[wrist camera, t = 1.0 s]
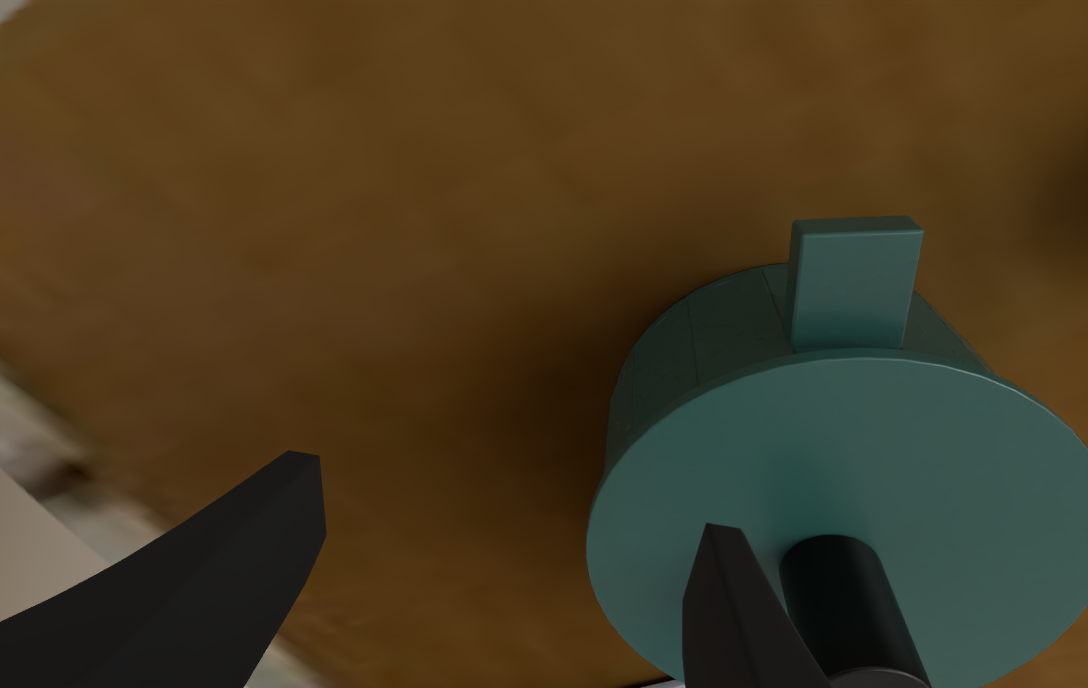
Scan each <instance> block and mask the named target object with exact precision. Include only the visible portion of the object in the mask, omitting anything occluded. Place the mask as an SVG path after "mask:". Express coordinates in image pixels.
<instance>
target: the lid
mask: <svg viewBox="0 0 1088 688" xmlns="http://www.w3.org/2000/svg"><path fill="white" fill-rule="evenodd" d="M706 523H712V524H718V525H723V526H729V527H735V528H740V529H741V530H742V531H743V533H744V534H745V536H746V538H747V540H748V542H749V544H750V546H751V548H752V550H753V552H754V554H755V556H756V558H757V560H758V561H759V563H760V565H761V567H762V569H763V571H764V573H765V575H766V577H767V579H768V580H769V582H770V584H771V586H772V588H773V590H774V591H775V593H776V595H777V597H778V599H779V600H780V602H781V604H782V606H783V608H784V609H785V611H786V613H787V614H788V616H789V618H790V620H791V621H792V623H793V625H794V626H795V628H796V630H797V631H798V633H799V635H800V636H801V638H802V640H803V641H804V643H805V645H806V646H807V648H808V650H809V651H810V653H811V654H812V656H813V657H814V659H815V661H816V662H817V664H818V665H819V667H820V668H821V670H822V671H823V673H824V675H825V676H826V678H827V679H828V681H829V682H830V684H831V685H832V687H833V688H980V687H982V686H984V685H986V684H988V683H990V682H992V681H994V680H997V679H999V678H1001V677H1003V676H1005V675H1007V674H1008V673H1010V672H1012V671H1013V670H1015V669H1017V668H1018V667H1020V666H1022V665H1023V664H1025V663H1027V662H1028V661H1030V660H1031V659H1033V658H1034V657H1035V656H1037V655H1038V654H1039V653H1040V652H1042V651H1043V650H1044V649H1046V648H1047V647H1048V646H1050V645H1051V644H1052V643H1053V642H1054V641H1055V640H1057V639H1058V638H1059V637H1060V636H1061V635H1062V634H1063V633H1064V632H1065V631H1066V630H1067V629H1068V628H1069V627H1070V626H1071V625H1072V624H1073V623H1074V622H1075V620H1076V619H1077V618H1078V616H1079V615H1080V614H1081V613H1082V611H1083V610H1084V609H1085V607H1086V606H1087V605H1088V448H1087V447H1086V445H1085V444H1084V443H1083V442H1082V441H1081V439H1080V438H1079V437H1078V436H1077V435H1076V433H1075V432H1074V431H1073V430H1072V429H1071V428H1070V427H1069V426H1068V424H1067V423H1066V422H1065V421H1064V420H1063V419H1062V418H1061V417H1059V416H1058V415H1057V414H1056V413H1055V412H1053V411H1052V410H1051V409H1050V408H1049V407H1047V406H1046V405H1045V404H1044V403H1043V402H1042V401H1040V400H1039V399H1038V398H1037V397H1035V396H1033V395H1032V394H1030V393H1028V392H1027V391H1025V390H1023V389H1022V388H1020V387H1018V386H1017V385H1015V384H1013V383H1012V382H1010V381H1008V380H1006V379H1004V378H1001V377H999V376H997V375H994V374H992V373H990V372H987V371H985V370H982V369H980V368H978V367H975V366H972V365H969V364H965V363H962V362H958V361H955V360H951V359H947V358H944V357H940V356H936V355H930V354H924V353H917V352H911V351H904V350H898V349H875V348H846V349H831V350H817V351H811V352H805V353H799V354H794V355H788V356H782V357H777V358H774V359H770V360H767V361H763V362H760V363H756V364H753V365H749V366H746V367H742V368H740V369H737V370H735V371H732V372H730V373H727V374H725V375H723V376H720V377H718V378H715V379H713V380H710V381H708V382H706V383H704V384H703V385H701V386H699V387H697V388H695V389H693V390H692V391H690V392H688V393H686V394H684V395H682V396H681V397H679V398H677V399H676V400H674V401H673V402H672V403H670V404H669V405H668V406H666V407H665V408H663V409H662V410H661V411H659V412H658V413H656V414H655V415H654V416H652V417H651V418H650V419H649V420H648V421H647V422H646V423H645V424H644V425H643V426H642V427H640V428H639V429H638V430H637V431H636V432H635V433H634V434H633V435H632V436H631V437H630V438H629V439H628V440H627V442H626V443H625V444H624V445H623V447H622V448H621V449H620V450H619V452H618V453H617V454H616V455H615V457H614V458H613V459H612V461H611V463H610V464H609V466H608V468H607V470H606V471H605V473H604V475H603V477H602V478H601V480H600V482H599V485H598V487H597V490H596V493H595V495H594V498H593V501H592V503H591V508H590V513H589V519H588V524H587V532H586V561H587V567H588V573H589V578H590V581H591V584H592V587H593V590H594V593H595V595H596V598H597V600H598V602H599V604H600V606H601V608H602V610H603V611H604V613H605V615H606V617H607V619H608V620H609V621H610V623H611V624H612V625H613V627H614V628H615V629H616V630H617V632H618V633H619V634H620V636H621V637H622V638H623V639H624V640H625V641H626V642H627V643H628V644H629V645H630V646H631V647H632V648H633V649H634V650H635V651H636V652H637V653H638V654H640V655H641V656H642V657H644V658H645V659H646V660H647V661H649V662H650V663H651V664H653V665H654V666H655V667H657V668H658V669H660V670H661V671H663V672H665V673H666V674H668V675H670V676H671V677H673V678H674V679H676V680H678V681H680V682H682V683H684V684H685V680H684V670H683V660H682V599H683V596H684V593H685V590H686V586H687V583H688V580H689V577H690V573H691V570H692V567H693V564H694V560H695V557H696V554H697V551H698V547H699V544H700V541H701V537H702V534H703V531H704V528H705V524H706Z"/></svg>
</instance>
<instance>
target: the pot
mask: <svg viewBox="0 0 1088 688" xmlns="http://www.w3.org/2000/svg"><path fill="white" fill-rule="evenodd" d="M923 235H924V230H923V228H921V227H920V226H919V225H918V224H917V223H916V222H915V221H913V220H912V219H911V218H910V217H909V216H883V217H860V218H837V219H814V220H796V221H794V222H793V224H792V232H791V243H790V253H789V263H784V264H773V265H768V266H763V267H758V268H753V269H749V270H745V271H742V272H739V273H736V274H733V275H729V276H726V277H723V278H721V279H719V280H716V281H714V282H712V283H710V284H708V285H706V286H703V287H701V288H699V289H697V290H696V291H694V292H693V293H691V294H689V295H688V296H686V297H684V298H683V299H681V300H680V301H678V302H677V303H675V304H674V305H673V306H672V307H670V308H669V309H668V310H667V311H665V312H664V313H663V314H662V315H660V316H659V317H658V318H657V319H656V320H655V321H654V322H653V323H652V325H651V326H650V327H649V328H648V329H647V330H646V331H645V332H644V333H643V334H642V336H641V337H640V338H639V340H638V341H637V343H636V344H635V345H634V347H633V348H632V349H631V351H630V353H629V355H628V357H627V359H626V361H625V362H624V364H623V366H622V369H621V371H620V374H619V377H618V380H617V383H616V386H615V390H614V392H613V394H612V396H611V399H610V405H609V417H608V428H607V440H606V452H605V463H604V473H605V471H606V470H607V468H608V466H609V464H610V463H611V461H612V459H613V458H614V457H615V455H616V454H617V453H618V452H619V450H620V449H621V448H622V447H623V445H624V444H625V443H626V442H627V440H628V439H629V438H630V437H631V436H632V435H633V434H634V433H635V432H636V431H637V430H638V429H639V428H640V427H642V426H643V425H644V424H645V423H646V422H647V421H648V420H649V419H650V418H651V417H652V416H654V415H655V414H656V413H658V412H659V411H661V410H662V409H663V408H665V407H666V406H668V405H669V404H670V403H672V402H673V401H674V400H676V399H677V398H679V397H681V396H682V395H684V394H686V393H688V392H690V391H692V390H693V389H695V388H697V387H699V386H701V385H703V384H704V383H706V382H708V381H710V380H713V379H715V378H718V377H720V376H723V375H725V374H727V373H730V372H732V371H735V370H737V369H740V368H742V367H746V366H749V365H753V364H756V363H760V362H763V361H767V360H770V359H774V358H777V357H782V356H788V355H794V354H799V353H805V352H811V351H817V350H831V349H846V348H875V349H898V350H904V351H911V352H917V353H924V354H930V355H936V356H940V357H944V358H947V359H951V360H955V361H958V362H962V363H965V364H969V365H972V366H975V367H978V368H980V369H982V370H985V371H987V372H990V373H992V374H994V375H997V374H996V373H995V372H994V370H993V369H992V368H991V367H990V366H989V365H988V364H987V363H986V362H985V360H984V359H983V358H982V357H981V356H980V355H979V354H978V353H977V352H976V351H975V349H974V348H973V347H972V346H971V345H970V344H969V343H968V342H967V341H966V339H965V338H964V337H963V336H962V335H961V334H960V333H958V332H957V331H956V330H955V329H954V328H953V327H952V326H951V325H950V324H949V323H948V322H947V321H946V320H945V319H944V318H943V317H942V316H941V314H940V313H939V312H938V311H937V310H936V309H935V308H933V307H932V306H931V305H930V304H929V303H928V302H927V301H926V300H925V299H924V298H923V297H922V296H921V295H920V294H917V292H915V291H913V286H914V281H915V276H916V271H917V266H918V261H919V255H920V250H921V245H922V240H923ZM997 376H998V375H997Z"/></svg>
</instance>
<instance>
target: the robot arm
mask: <svg viewBox="0 0 1088 688" xmlns="http://www.w3.org/2000/svg"><path fill="white" fill-rule="evenodd" d="M326 535H327V534H326V523H325V512H324V501H323V490H322V479H321V468H320V457H319V456H317V455H312V454H306V453H300V452H294V451H289V450H288V451H287V452H285V453H284V454H282V455H281V456H279V457H278V458H276V459H275V460H273V461H272V462H271V463H269V464H268V465H266V466H265V467H263V468H262V469H260V470H259V471H258V472H256V473H255V474H253V475H252V476H250V477H249V478H248V479H246V480H245V481H243V482H242V483H240V484H239V485H237V486H236V487H235V488H233V489H232V490H230V491H229V492H227V493H226V494H224V495H223V496H222V497H220V498H219V499H217V500H216V501H214V502H213V503H211V504H210V505H208V506H207V507H205V508H204V509H202V510H201V511H199V512H198V513H196V514H195V515H193V516H192V517H190V518H189V519H187V520H186V521H184V522H183V523H181V524H180V525H178V526H176V527H175V528H173V529H172V530H170V531H168V532H167V533H165V534H164V535H162V536H160V537H159V538H157V539H155V540H154V541H152V542H151V543H149V544H147V545H146V546H144V547H143V548H141V549H139V550H138V551H136V552H134V553H133V554H131V555H130V556H128V557H126V558H124V559H123V560H121V561H119V562H118V563H116V564H114V565H112V566H110V567H109V568H107V569H105V570H103V571H101V572H100V573H98V574H96V575H94V576H92V577H90V578H88V579H87V580H85V581H83V582H81V583H79V584H77V585H75V586H74V587H72V588H70V589H68V590H66V591H64V592H62V593H60V594H58V595H56V596H54V597H52V598H50V599H48V600H46V601H44V602H42V603H40V604H38V605H35V606H33V607H31V608H29V609H27V610H25V611H22V612H20V613H18V614H16V615H14V616H12V617H9V618H7V619H5V620H3V621H1V622H0V688H244V686H245V684H246V683H247V681H248V679H249V678H250V676H251V674H252V673H253V671H254V669H255V668H256V666H257V664H258V663H259V661H260V659H261V658H262V656H263V654H264V653H265V651H266V649H267V648H268V646H269V644H270V643H271V641H272V639H273V638H274V636H275V634H276V633H277V631H278V629H279V628H280V626H281V624H282V623H283V621H284V619H285V618H286V616H287V614H288V613H289V611H290V609H291V608H292V606H293V604H294V602H295V601H296V599H297V597H298V596H299V594H300V592H301V590H302V589H303V587H304V585H305V583H306V581H307V579H308V576H309V574H310V572H311V570H312V568H313V566H314V563H315V561H316V559H317V556H318V554H319V552H320V549H321V547H322V545H323V542H324V540H325V538H326ZM682 660H683V670H684V680H685V684H684V683H682V682H680V681H678V680H672V681H668V682H663V683H658V684H654V685H649V686H645V687H640V688H833V687H832V685H831V684H830V682H829V681H828V679H827V678H826V676H825V675H824V673H823V671H822V670H821V668H820V667H819V665H818V664H817V662H816V661H815V659H814V657H813V656H812V654H811V653H810V651H809V650H808V648H807V646H806V645H805V643H804V641H803V640H802V638H801V636H800V635H799V633H798V631H797V630H796V628H795V626H794V625H793V623H792V621H791V620H790V618H789V616H788V614H787V613H786V611H785V609H784V608H783V606H782V604H781V602H780V600H779V599H778V597H777V595H776V593H775V591H774V590H773V588H772V586H771V584H770V582H769V580H768V579H767V577H766V575H765V573H764V571H763V569H762V567H761V565H760V563H759V561H758V560H757V558H756V556H755V554H754V552H753V550H752V548H751V546H750V544H749V542H748V540H747V538H746V536H745V534H744V533H743V531H742V530H741V529H740V528H735V527H729V526H723V525H718V524H712V523H706V524H705V528H704V531H703V534H702V537H701V541H700V544H699V547H698V551H697V554H696V557H695V560H694V564H693V567H692V570H691V573H690V577H689V580H688V583H687V586H686V590H685V593H684V596H683V599H682Z"/></svg>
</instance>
